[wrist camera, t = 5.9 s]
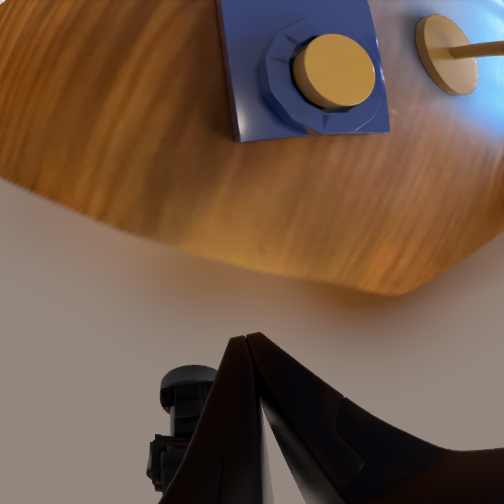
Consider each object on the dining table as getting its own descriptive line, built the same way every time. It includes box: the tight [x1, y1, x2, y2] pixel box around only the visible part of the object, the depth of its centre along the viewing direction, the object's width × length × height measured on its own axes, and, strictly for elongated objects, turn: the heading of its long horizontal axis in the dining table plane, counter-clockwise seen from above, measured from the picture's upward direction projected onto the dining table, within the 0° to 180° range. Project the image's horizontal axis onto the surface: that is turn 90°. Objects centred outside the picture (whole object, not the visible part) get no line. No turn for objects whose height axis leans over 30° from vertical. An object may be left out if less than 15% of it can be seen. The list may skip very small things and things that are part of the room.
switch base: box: [215, 0, 390, 143], centre depth 13 cm, size 14×10×4 cm
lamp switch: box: [293, 34, 375, 108], centre depth 12 cm, size 4×4×2 cm
